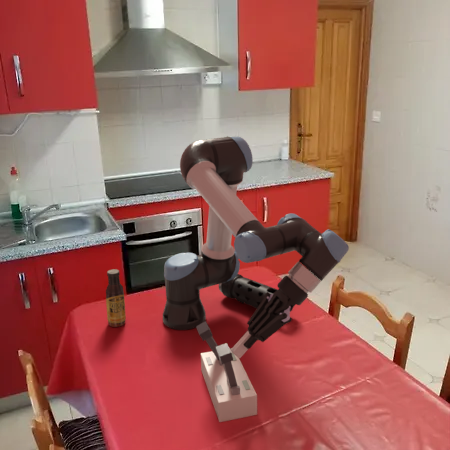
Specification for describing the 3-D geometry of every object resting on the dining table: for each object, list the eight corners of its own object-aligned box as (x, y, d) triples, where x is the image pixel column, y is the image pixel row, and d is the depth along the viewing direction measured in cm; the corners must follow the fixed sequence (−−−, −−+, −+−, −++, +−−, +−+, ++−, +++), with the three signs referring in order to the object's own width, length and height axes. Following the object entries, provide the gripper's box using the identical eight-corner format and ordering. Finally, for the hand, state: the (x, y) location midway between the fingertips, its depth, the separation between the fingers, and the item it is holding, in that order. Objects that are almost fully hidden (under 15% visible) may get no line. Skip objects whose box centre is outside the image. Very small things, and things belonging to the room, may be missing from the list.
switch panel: (234, 364, 143) (233, 341, 140) (257, 414, 122) (257, 388, 120) (201, 370, 140) (200, 347, 138) (219, 422, 120) (218, 396, 118)
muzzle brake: (275, 325, 163) (275, 298, 160) (217, 300, 182) (216, 275, 178) (292, 314, 170) (292, 288, 166) (234, 291, 188) (233, 267, 185)
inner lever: (222, 348, 137) (205, 321, 133) (226, 356, 133) (208, 329, 129) (213, 353, 137) (196, 326, 132) (216, 362, 133) (199, 334, 128)
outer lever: (235, 375, 125) (226, 342, 121) (240, 386, 121) (231, 352, 117) (224, 379, 125) (215, 346, 121) (229, 390, 121) (219, 356, 117)
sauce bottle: (110, 329, 163) (104, 277, 157) (106, 321, 168) (99, 270, 162) (129, 324, 166) (123, 272, 159) (124, 316, 171) (118, 266, 165)
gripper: (319, 303, 114) (253, 376, 115) (297, 281, 126) (238, 347, 127) (299, 287, 111) (232, 361, 112) (278, 265, 123) (218, 333, 124)
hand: (235, 353), depth 119 cm, fingers closed
